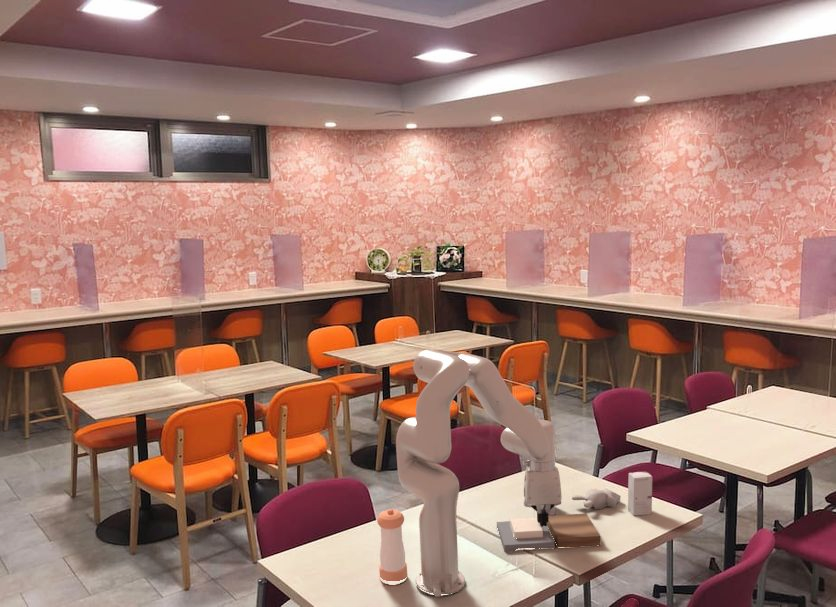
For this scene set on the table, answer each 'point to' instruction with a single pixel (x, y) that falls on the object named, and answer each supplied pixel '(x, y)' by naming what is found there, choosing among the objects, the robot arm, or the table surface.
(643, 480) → the skincare box
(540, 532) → the coaster
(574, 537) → the serving board
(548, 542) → the mat
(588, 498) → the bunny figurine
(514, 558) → the table surface
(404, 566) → the pepper shaker
